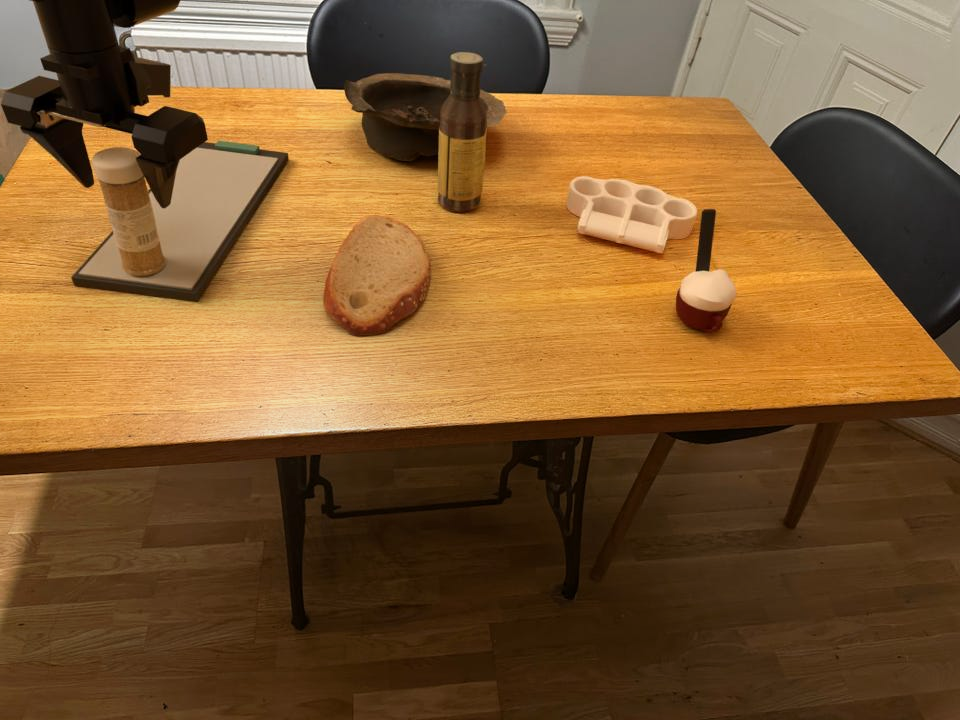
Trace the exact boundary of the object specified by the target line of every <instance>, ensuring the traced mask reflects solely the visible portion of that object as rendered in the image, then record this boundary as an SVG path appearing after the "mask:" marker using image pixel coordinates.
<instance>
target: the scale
mask: <svg viewBox="0 0 960 720" xmlns="http://www.w3.org/2000/svg"><path fill="white" fill-rule="evenodd" d="M288 162H289V153H288V152H285V151H277V150H269V149H260V145H257V144H249V143H241V142H233V141H225V140H217V141H216V142H207V141H206V142H204V143H203V144H201V145H200V146H198V147H197V148H196V149H194V150H193V151H191V152H190V153H189V154H187V155H186V156H184V157H183V158H182V159H180V161H179V164H178V167H177V171H176V176H175V182H174V187H173V193H172V198H171V203H170V205H169V206H168V207H166V208H165V209H164V208H161V207H160V205H159V204H158V202H157V200H156V199H155V197H154V195H153V193H152V191H151V189H150V188H149V189H148V194H149V197H150V200H151V204H152V208H153V213H154V217H155V221H156V226H157V230H158V235H159V239H160V246H161V249H162V254H163V256H164V258H165V265H164V267H163V268H162V269H161V270H160V271H158V272H156V273H154V274H151V275H147V276H135V275H131V274H129V273H127V272H126V271H125V270H124V269H123V268H122V259H121V256H120V253H119V249H118V246H117V244H116V241H115V237H114V234H113V230H112V231H111V232H110V233H109V234H108V235H107V236H106V238H104V240H103V241H102V242H101V243H100V244H99V245H98V246H97V247H96V249H95V250H94V251H92V253H91V255H89V256H88V257H87V259H86V260H85V261H84V262H83V263H82V265H80V267H79V268H78V269H77V270H76V271H75V272H74V274H72V275H71V281H72V284H73V286H75V287H82V288H89V289H96V290H97V289H98V290H104V291H112V292H119V293H121V292H122V293H126V294H136V295H141V296H149V297H150V296H151V297H158V298H164V299H165V298H166V299H171V300H172V299H174V300H180V301H186V302H187V301H188V302H195V303H198V302H200V300H201V299H202V297H203V295H204V294H205V292H206V290H207V288H209V286H210V284H211V283H212V281H213V279H215V276H216V275H217V274H218V272H219V270H220V269H221V267H222V265H223V264H224V262H225V261H226V259H227V258H228V257H229V255H230V253H231V252H232V250H233V248H235V245H236V244H237V242H238V240H239V239H240V237H241V236H242V234H243V233H244V231H245V230H246V228H247V227H248V225H249V223H250V222H251V220H252V219H253V217H254V216H255V214H256V213H257V211H258V209H259V208H260V206H261V204H262V203H263V202H264V200H265V198H266V196H267V195H268V193H269V192H270V190H271V189H272V187H273V185H274V184H275V183H276V181H277V179H278V178H279V177H280V175H281V174H282V172H283V170H284V169H285V167H286V165H288Z"/></svg>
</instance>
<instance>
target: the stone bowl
mask: <svg viewBox="0 0 960 720" xmlns="http://www.w3.org/2000/svg"><path fill="white" fill-rule="evenodd" d="M450 86H451V79H450V80H449V79H445V78H444V77H437V76H434V75H424V74H423V75H422V74H411V73H408V74H407V73H402V72H401V73H400V72H389V73H388V72H387V73H386V72H385V73H375V74H373V75H370V76H368V77H364V78H361V79H359V80H356V81H355V82H354V81H350V80H348V79H347V78H346V79H345V80H344V85H343V90H344V96H345V98H346V100H347V102H348V103H349V104H350V105H351V108H350V110H351V111H354V112H356V113H359V114H360V113H361V115H362V117H361V129H362V131H363V133H364V136H365V139H366V144H367V146H368V147H369V148H370V149H372V150H373V151H376V152H377V154H380V155H381V156H383V157H384V158H387V159H388V158H393V159H394V160H396V161H397V160H398V161H401V162H406V161H407V162H409V161H414V160H416V159H418V158H419V157H420V155H421V156H425V157H432V156H435V155H438V154H439V127H440V112H441V108H442V106H443V104H444V103H445V101H446V100H447V98H448V97H449V95H450ZM479 97H480V99H481V101H482V102H483V104H484V106H485V109H486V112H487V128H489V127H496V126H498V125H499V124H500V123H501V121H503V119H504V116H505V115H506V114H507V113H508V112H507V111H508V110H507V109H506V105H504V104H505V103H504V101H503V100H501V99H499V98H497V97H496V96H495V95H493V94H491V93H489V92H487V91H485V90H483V89H480V96H479Z"/></svg>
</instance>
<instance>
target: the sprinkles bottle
mask: <svg viewBox="0 0 960 720" xmlns="http://www.w3.org/2000/svg"><path fill="white" fill-rule="evenodd" d="M139 155H141V154H140V153H139V152H138V151H137V150H136V149H133V148H129V147H122V146H115V147H108V148H104V149H101V150H99V151H97V152H96V153H95V154H93V156H92V158H91V162H92V164H91V165H92V169H93V173H94V175H95V178H96V179H97V181H98V182H99V186H100V189H101V192H102V195H103V199H104V205H105V209H106V213H107V216H108V219H109V222H110V226H111V229H112V231H113V234H114V237H115V241H116V244H117V246H118V249H119V253H120V256H121V259H122V268H123V269H124V270H125V271H126V272H127V273H129V274H131V275H135V276H147V275H151V274H154V273H156V272H158V271H160V270H161V269H162V268H163V267H164V265H165V258H164V256H163V254H162V249H161V246H160V239H159V235H158V230H157V226H156V221H155V217H154V213H153V208H152V204H151V200H150V197H149V194H148V191H149V189H148V186H147V181H146V179H145V177H144V175H143V173H142V171H141V169H140V167H139V165H138V163H137V161H136V157H138V156H139Z"/></svg>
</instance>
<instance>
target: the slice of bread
mask: <svg viewBox="0 0 960 720" xmlns="http://www.w3.org/2000/svg"><path fill="white" fill-rule="evenodd" d="M425 251H426V250H425V246H424V242H423V241H422V239H421V238H420V236H419V235H418V234H417V233H416V232H414V230H412V229H411V228H410V227H409V226H408V225H406V224H404V223H403V222H401V221H399V220H396V219H394V218H391V217H389V216H388V217H387V216H383V215H379V214H370V215H365V216H363V217H362V218H361V219H360V220H358V221H357V223H355V225H354V226H352V229H351V230H350V231H349V233H348V235H347V236H346V237H345V239H344V241H343V242H342V244H341V246H340V247H339V249H338V251H337V253H336V255H335V257H334V258H333V261H332V263H331V264H330V267H329V269H328V273H327V276H326V279H325V282H324V289H323V290H324V291H323V295H322V297H323V298H322V299H323V307H324V310H325V311H326V312H327V314H328V316H329V317H330V318H331V319H332V320H333V321H334V322H335V323H336V324H337V325H339V326H341V327H342V328H344V330H346V331H347V332H348V333H349V334H351V335H354V336H359V337H360V336H367V335H379V334H384V333H386V332H388V330H390V328H392V326H394V325H395V324H396V323H398V322H400V321H401V320H403V319H405V318H407V317H409V316H411V315H412V314H413V313H415V311H416V310H418V308H419V307H420V306H421V304H422V303H423V302H424V299H425V297H426V296H427V292H428V288H429V285H430V282H431V273H432V267H431V260H430V257H429V256H428V255H427V254H426V252H425Z"/></svg>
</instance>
